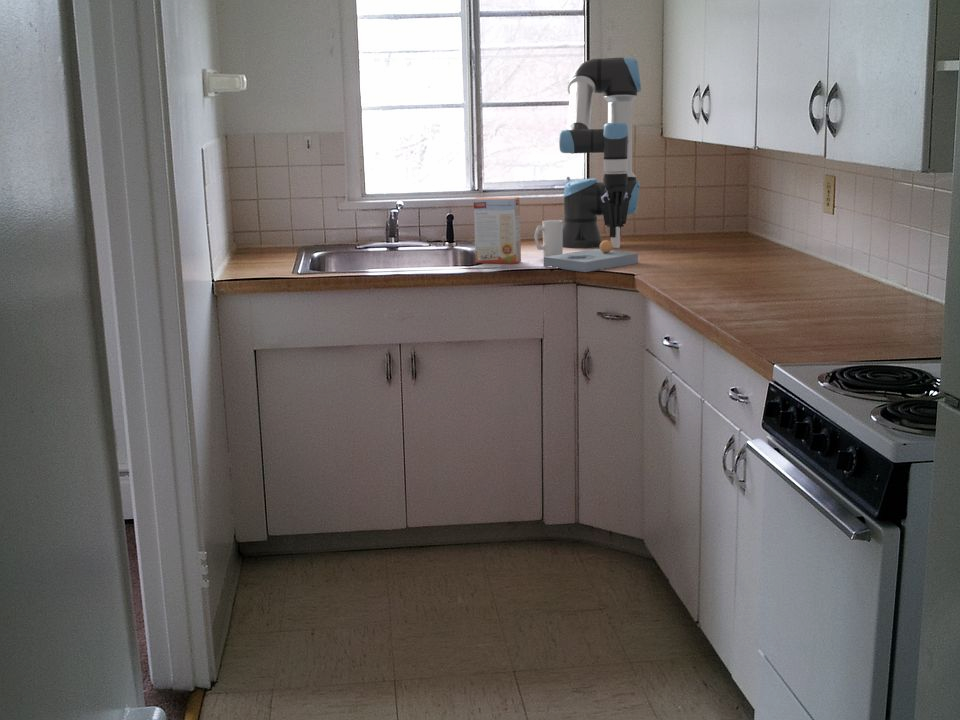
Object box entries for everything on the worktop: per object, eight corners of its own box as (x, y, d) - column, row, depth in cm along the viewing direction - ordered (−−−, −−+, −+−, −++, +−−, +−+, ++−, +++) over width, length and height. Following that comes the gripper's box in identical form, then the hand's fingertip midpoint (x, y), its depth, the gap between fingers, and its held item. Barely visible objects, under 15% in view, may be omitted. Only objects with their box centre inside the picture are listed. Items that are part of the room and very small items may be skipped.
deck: (595, 257, 343) (595, 248, 342) (637, 262, 329) (637, 253, 329) (543, 266, 327) (543, 257, 327) (585, 272, 314) (585, 262, 313)
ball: (605, 251, 335) (605, 239, 334) (614, 252, 332) (614, 240, 331) (597, 252, 332) (597, 240, 331) (606, 254, 329) (606, 241, 328)
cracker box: (521, 261, 339) (520, 196, 334) (516, 264, 334) (515, 198, 329) (480, 260, 344) (479, 196, 339) (474, 263, 338) (473, 198, 333)
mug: (557, 255, 351) (557, 219, 349) (566, 257, 345) (566, 221, 342) (530, 257, 348) (529, 221, 345) (539, 260, 342) (538, 223, 339)
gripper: (620, 171, 336) (620, 244, 341) (592, 173, 328) (592, 248, 333) (638, 171, 330) (637, 246, 336) (610, 174, 322) (610, 250, 327)
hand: (615, 247), depth 334 cm, fingers closed
